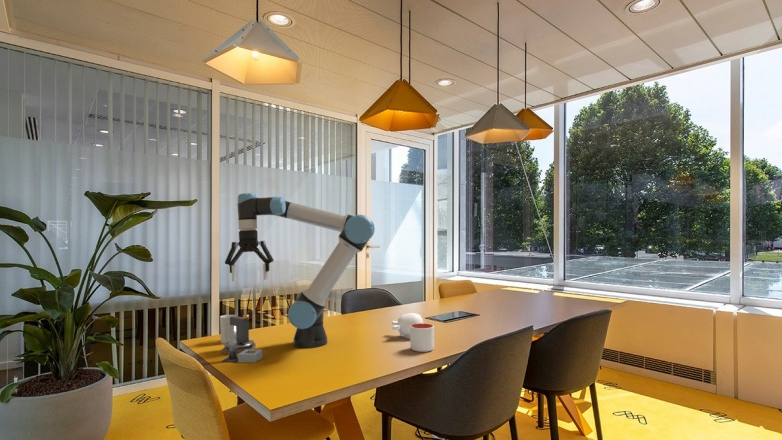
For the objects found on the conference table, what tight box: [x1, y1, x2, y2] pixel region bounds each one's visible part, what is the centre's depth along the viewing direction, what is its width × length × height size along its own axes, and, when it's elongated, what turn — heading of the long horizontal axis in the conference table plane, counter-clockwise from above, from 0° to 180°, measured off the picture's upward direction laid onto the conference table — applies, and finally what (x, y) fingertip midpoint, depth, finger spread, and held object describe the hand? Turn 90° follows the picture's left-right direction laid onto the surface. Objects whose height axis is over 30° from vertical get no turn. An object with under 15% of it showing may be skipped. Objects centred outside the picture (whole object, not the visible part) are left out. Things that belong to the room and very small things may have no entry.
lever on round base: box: [223, 314, 255, 349], centre depth 187 cm, size 12×12×13 cm
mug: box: [219, 314, 237, 345], centre depth 202 cm, size 10×7×12 cm, turn 25°
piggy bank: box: [391, 312, 425, 339], centre depth 205 cm, size 12×12×15 cm
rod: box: [228, 325, 238, 360], centre depth 173 cm, size 3×3×13 cm
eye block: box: [237, 349, 264, 363], centre depth 173 cm, size 7×7×3 cm
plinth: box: [221, 342, 257, 355], centre depth 186 cm, size 10×10×2 cm
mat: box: [221, 356, 238, 363], centre depth 173 cm, size 6×6×1 cm
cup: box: [409, 323, 435, 353], centre depth 184 cm, size 10×10×10 cm
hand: (250, 280), depth 184 cm, fingers open, 13 cm apart
